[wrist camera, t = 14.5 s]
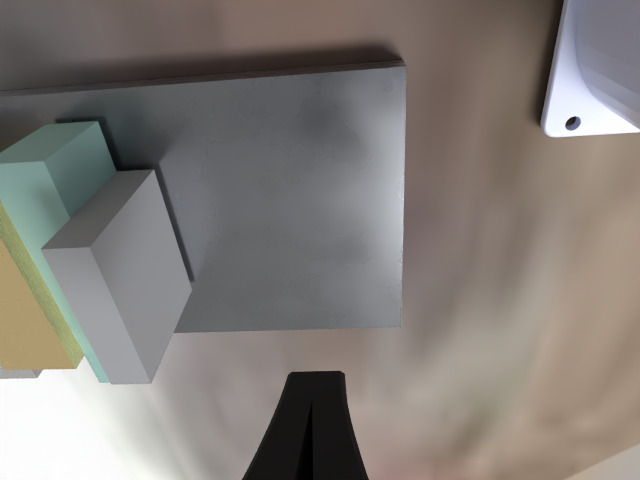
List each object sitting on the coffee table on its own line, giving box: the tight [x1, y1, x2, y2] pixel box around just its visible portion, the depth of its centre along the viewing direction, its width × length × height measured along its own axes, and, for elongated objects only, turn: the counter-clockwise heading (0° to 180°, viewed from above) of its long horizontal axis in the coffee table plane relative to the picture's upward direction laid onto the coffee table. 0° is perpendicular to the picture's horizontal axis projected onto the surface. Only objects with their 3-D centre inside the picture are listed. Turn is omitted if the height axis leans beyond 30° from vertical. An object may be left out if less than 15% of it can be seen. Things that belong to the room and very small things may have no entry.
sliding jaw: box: [0, 121, 192, 384], centre depth 17 cm, size 4×10×5 cm, turn 5°
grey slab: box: [0, 60, 406, 379], centre depth 18 cm, size 20×12×6 cm, turn 95°
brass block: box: [0, 201, 84, 370], centre depth 18 cm, size 3×7×4 cm, turn 5°
